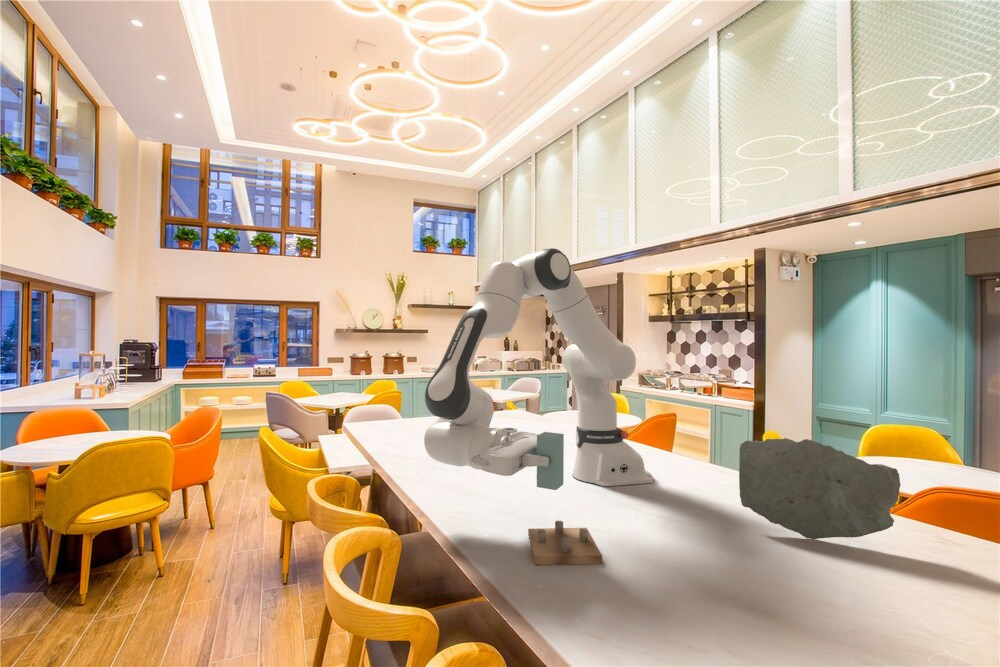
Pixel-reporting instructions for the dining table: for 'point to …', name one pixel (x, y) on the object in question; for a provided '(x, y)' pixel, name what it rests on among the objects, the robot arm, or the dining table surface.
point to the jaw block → (554, 448)
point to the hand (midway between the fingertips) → (554, 458)
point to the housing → (563, 546)
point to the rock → (816, 488)
